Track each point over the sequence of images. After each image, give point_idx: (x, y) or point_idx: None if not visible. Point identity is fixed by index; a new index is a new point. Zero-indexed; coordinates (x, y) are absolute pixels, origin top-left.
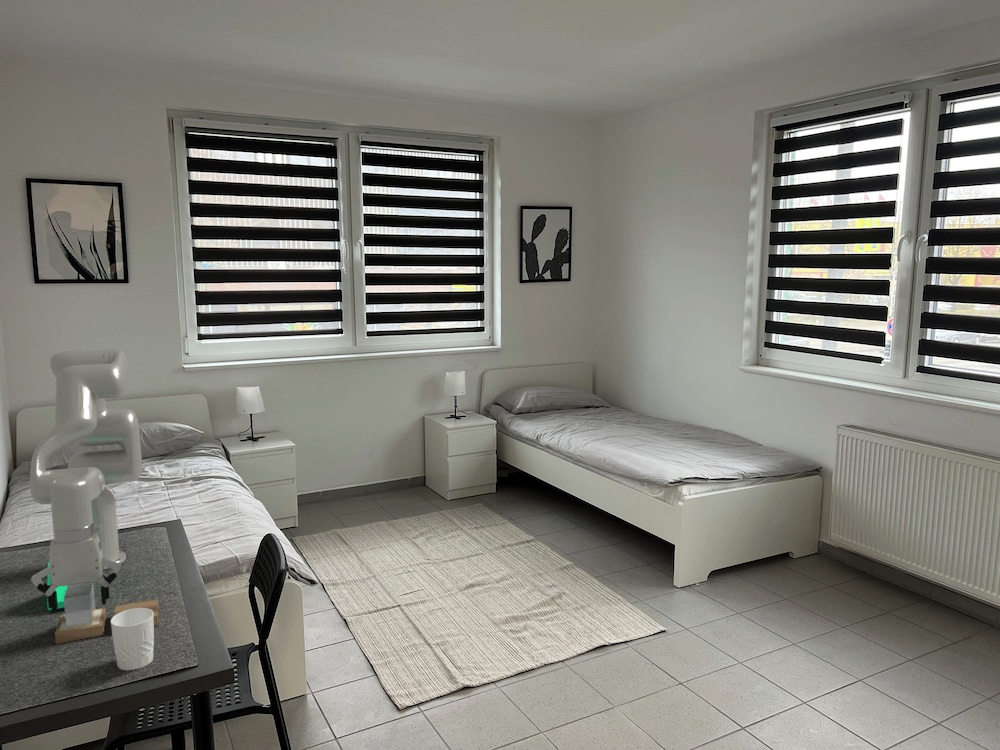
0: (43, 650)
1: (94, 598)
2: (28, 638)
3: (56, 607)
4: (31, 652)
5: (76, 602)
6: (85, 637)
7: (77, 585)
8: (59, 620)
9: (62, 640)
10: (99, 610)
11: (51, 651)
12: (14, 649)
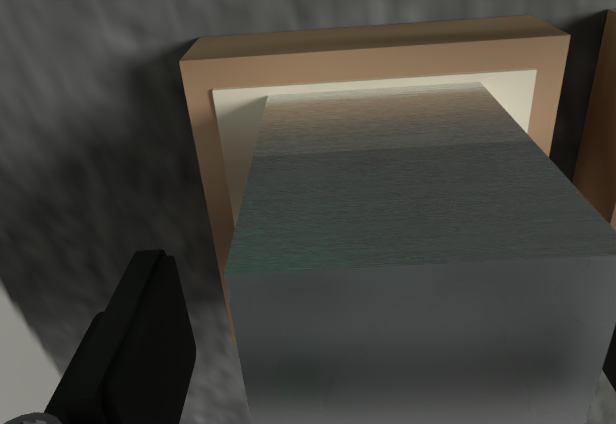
0: (195, 332)
1: (520, 128)
2: (39, 172)
3: (183, 335)
4: None
5: None
6: None
7: (383, 325)
8: (204, 171)
9: None
10: (513, 98)
11: None
12: (25, 279)
